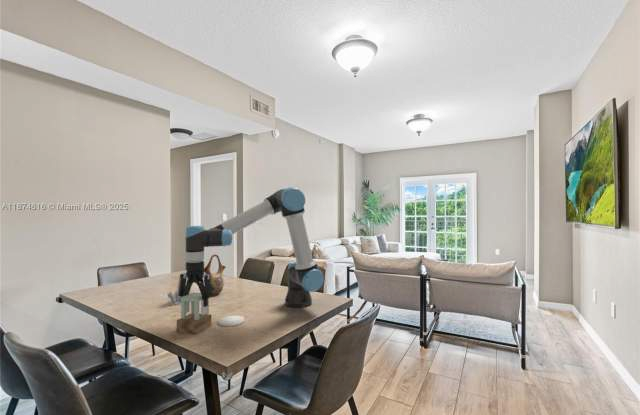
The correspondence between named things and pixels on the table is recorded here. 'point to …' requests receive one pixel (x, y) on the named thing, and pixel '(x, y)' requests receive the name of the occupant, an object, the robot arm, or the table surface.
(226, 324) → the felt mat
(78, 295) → the table surface
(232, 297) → the table surface
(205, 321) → the walnut box
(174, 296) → the crystal
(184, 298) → the stool
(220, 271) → the ceramic vessel
